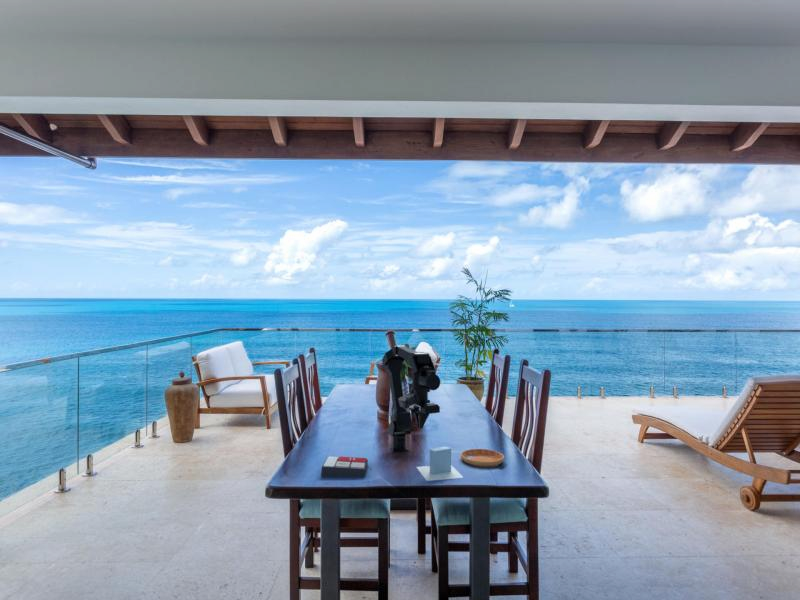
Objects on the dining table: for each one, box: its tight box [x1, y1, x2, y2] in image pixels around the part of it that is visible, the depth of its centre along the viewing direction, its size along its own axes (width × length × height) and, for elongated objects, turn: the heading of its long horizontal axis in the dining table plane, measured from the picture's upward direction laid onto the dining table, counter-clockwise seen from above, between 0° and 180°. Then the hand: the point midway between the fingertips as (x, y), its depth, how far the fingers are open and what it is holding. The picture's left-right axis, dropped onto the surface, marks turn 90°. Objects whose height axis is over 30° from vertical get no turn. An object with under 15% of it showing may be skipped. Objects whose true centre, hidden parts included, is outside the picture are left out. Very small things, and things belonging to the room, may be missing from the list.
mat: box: [416, 464, 464, 482], centre depth 158 cm, size 14×13×1 cm
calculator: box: [321, 456, 369, 478], centre depth 161 cm, size 11×4×15 cm
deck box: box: [429, 446, 452, 475], centre depth 159 cm, size 3×7×8 cm, turn 118°
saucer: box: [460, 448, 505, 468], centre depth 171 cm, size 16×16×3 cm
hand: (420, 428), depth 170 cm, fingers closed
